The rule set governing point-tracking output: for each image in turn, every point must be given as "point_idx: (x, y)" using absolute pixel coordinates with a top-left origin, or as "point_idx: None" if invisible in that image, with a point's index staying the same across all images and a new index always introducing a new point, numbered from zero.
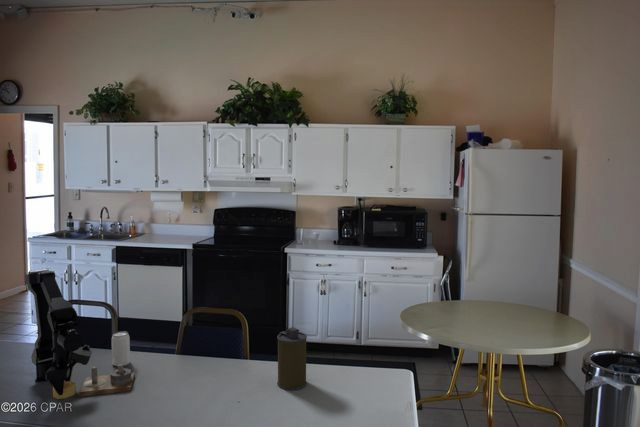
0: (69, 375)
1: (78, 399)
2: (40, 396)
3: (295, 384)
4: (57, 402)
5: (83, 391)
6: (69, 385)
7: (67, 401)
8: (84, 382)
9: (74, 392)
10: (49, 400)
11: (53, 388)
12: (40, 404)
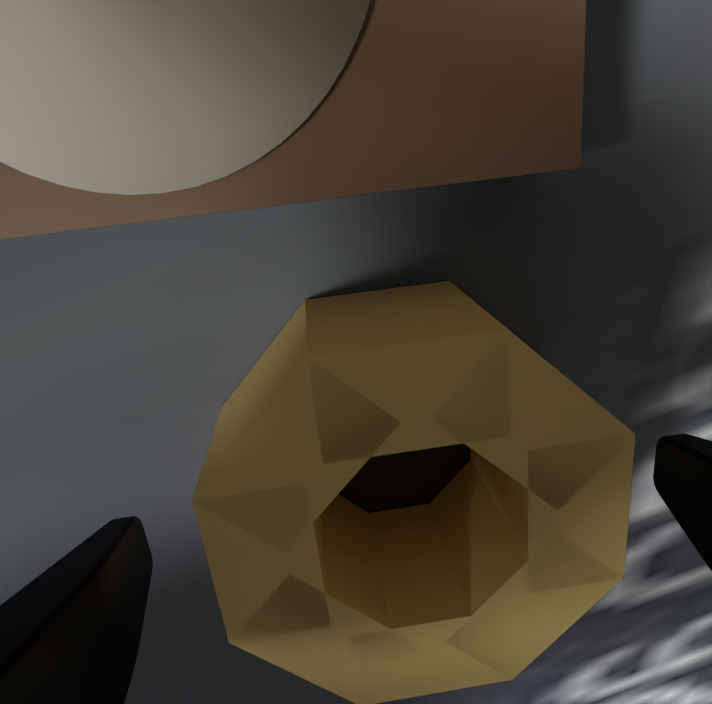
0: (63, 650)
1: (660, 132)
2: None
3: None
4: (660, 433)
5: (580, 62)
6: (444, 443)
7: (676, 300)
8: (61, 217)
9: (434, 291)
10: None
11: (525, 664)
12: (647, 606)
